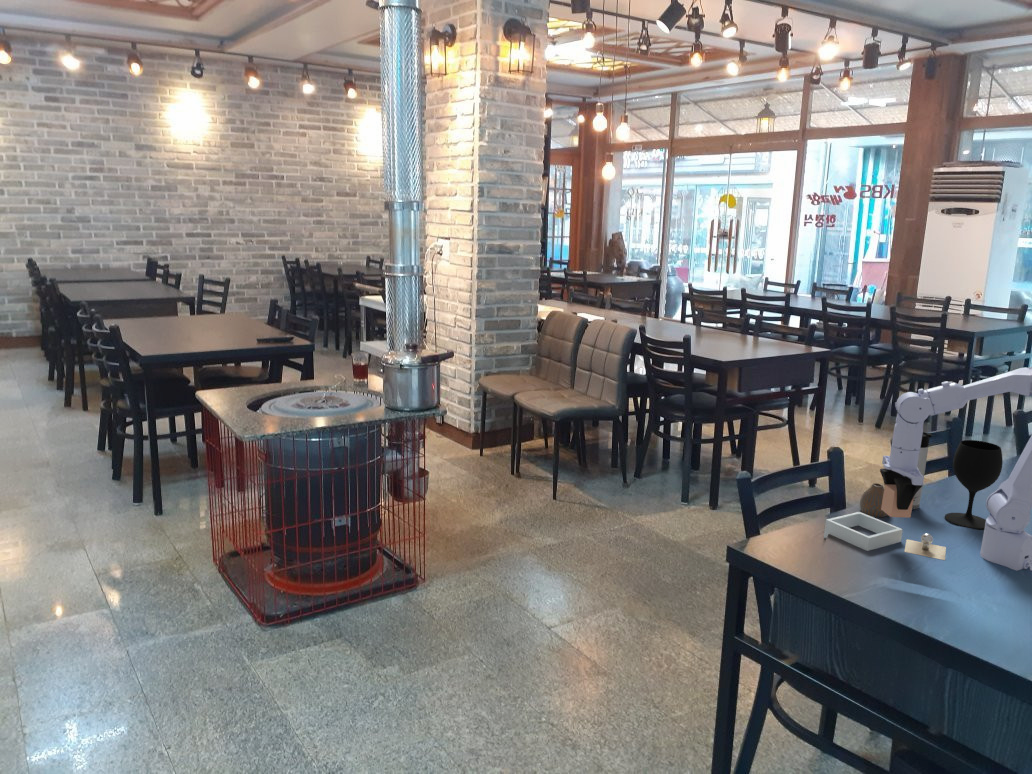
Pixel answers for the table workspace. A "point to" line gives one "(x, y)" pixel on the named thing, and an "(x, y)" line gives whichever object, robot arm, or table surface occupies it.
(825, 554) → the table surface
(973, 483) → the wine glass
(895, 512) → the block
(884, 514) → the vase
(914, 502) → the travel mug
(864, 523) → the bin
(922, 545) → the base
